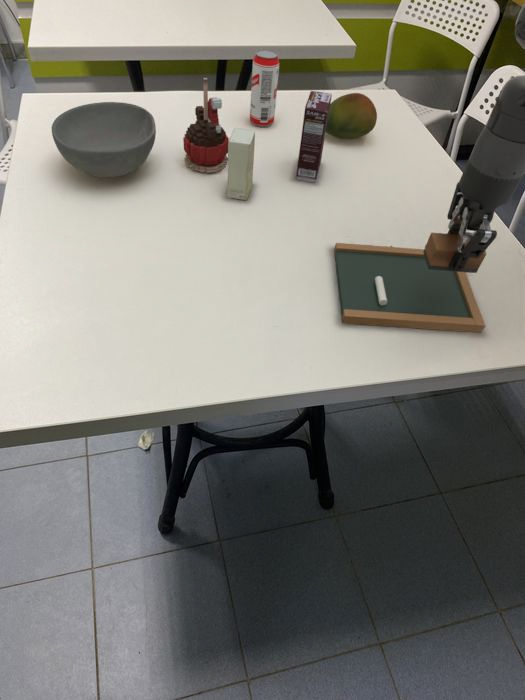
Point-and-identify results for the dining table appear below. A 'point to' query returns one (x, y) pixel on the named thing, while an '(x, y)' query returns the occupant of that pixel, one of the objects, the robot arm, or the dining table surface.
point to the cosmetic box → (240, 163)
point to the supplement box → (313, 135)
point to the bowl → (105, 137)
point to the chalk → (380, 290)
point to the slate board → (403, 290)
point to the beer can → (264, 87)
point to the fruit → (351, 116)
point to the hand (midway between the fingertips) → (451, 258)
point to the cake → (206, 137)
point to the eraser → (447, 253)
